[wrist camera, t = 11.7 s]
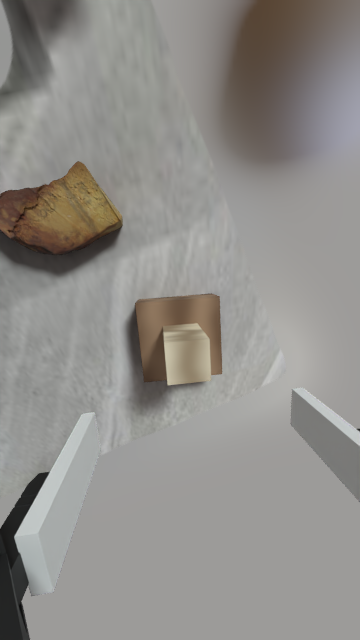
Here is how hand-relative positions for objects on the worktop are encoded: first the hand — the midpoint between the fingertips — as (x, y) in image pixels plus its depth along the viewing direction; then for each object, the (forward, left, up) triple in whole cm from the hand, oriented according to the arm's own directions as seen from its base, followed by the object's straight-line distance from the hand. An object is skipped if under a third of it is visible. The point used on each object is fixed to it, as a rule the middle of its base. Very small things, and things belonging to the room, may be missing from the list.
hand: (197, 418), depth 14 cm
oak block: (+1, 0, -18) cm, 18 cm away
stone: (-14, +18, -24) cm, 33 cm away
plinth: (+1, 0, -23) cm, 23 cm away
